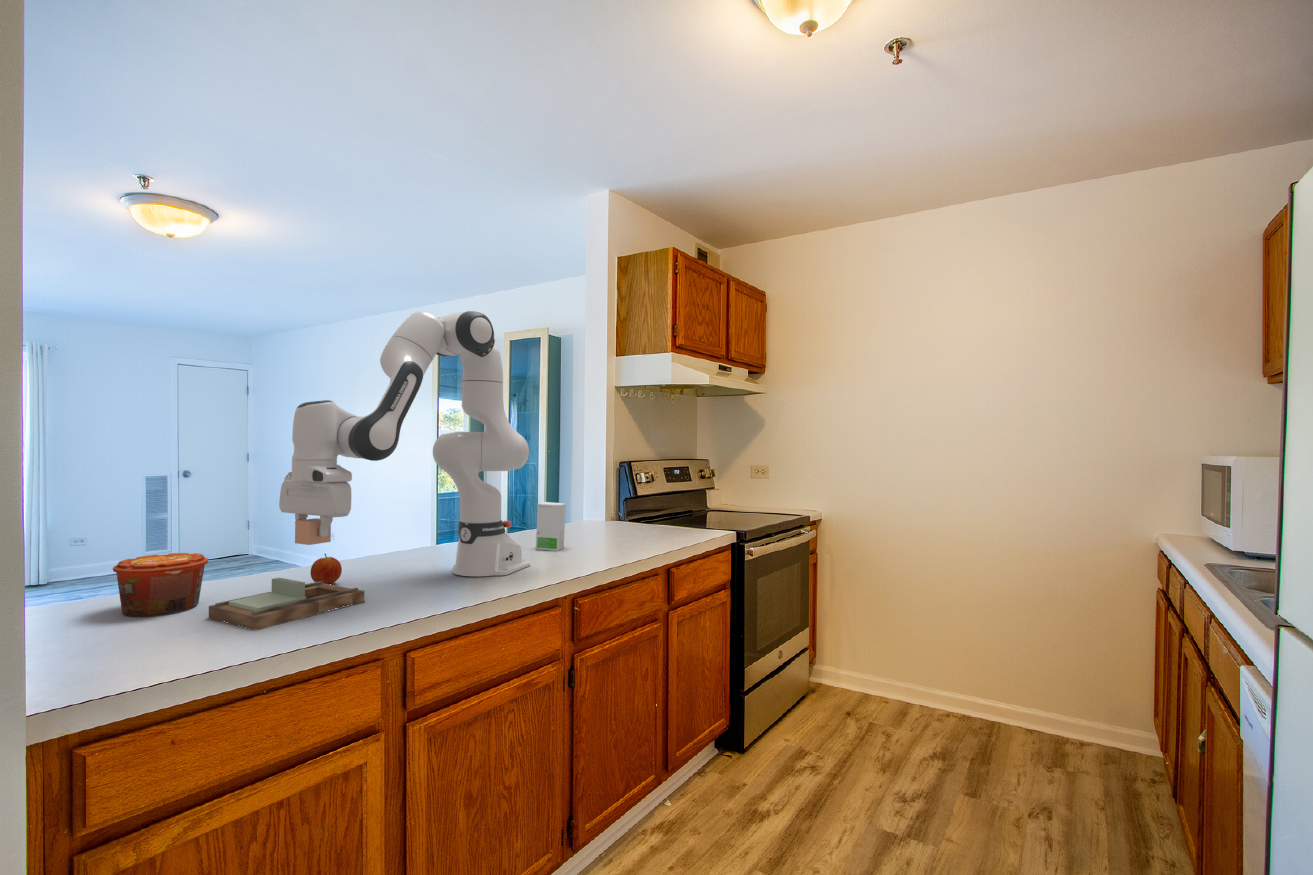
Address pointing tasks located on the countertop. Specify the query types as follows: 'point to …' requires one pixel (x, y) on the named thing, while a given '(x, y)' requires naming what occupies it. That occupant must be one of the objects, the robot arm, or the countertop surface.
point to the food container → (160, 583)
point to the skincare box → (550, 526)
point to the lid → (274, 595)
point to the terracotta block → (309, 532)
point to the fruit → (326, 570)
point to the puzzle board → (289, 606)
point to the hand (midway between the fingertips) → (313, 535)
